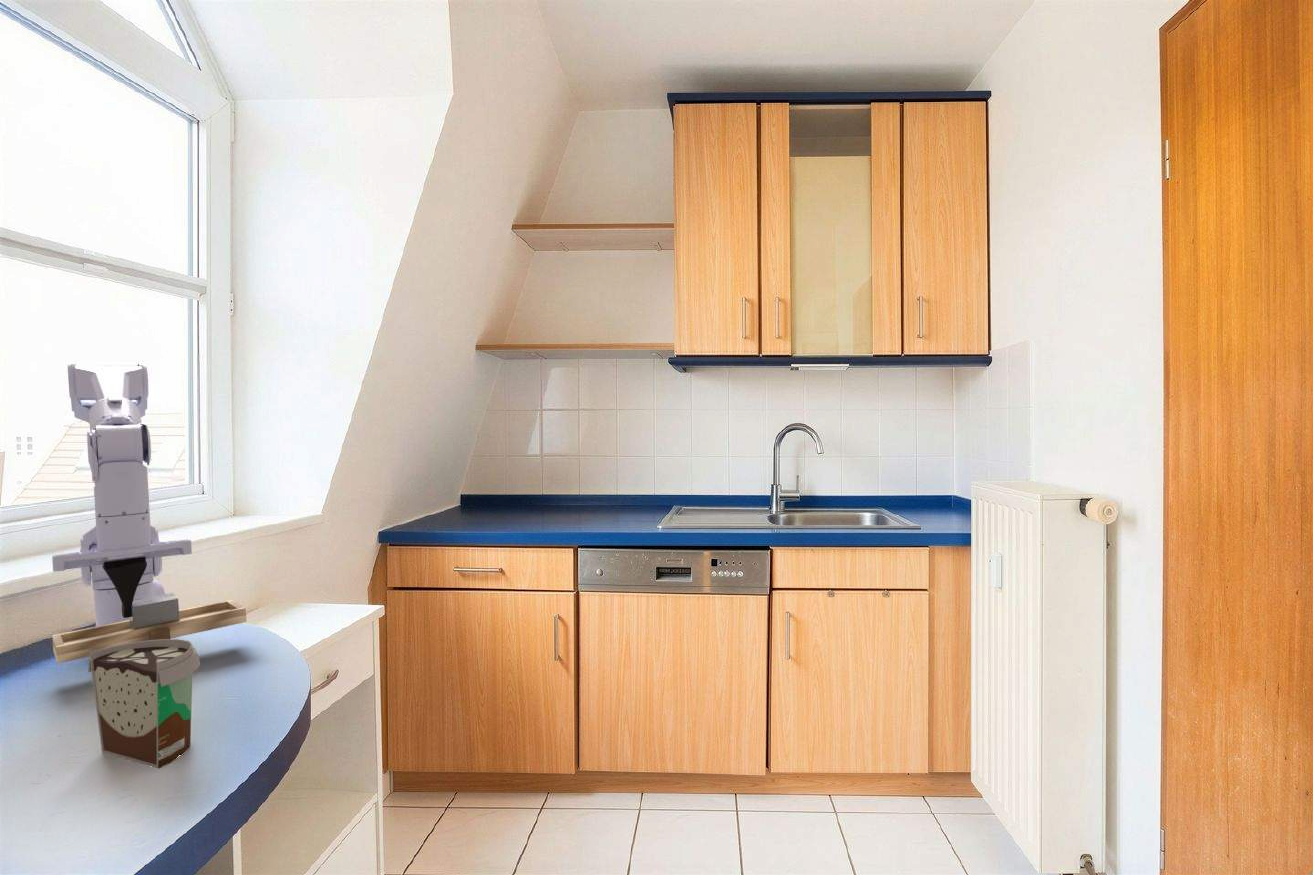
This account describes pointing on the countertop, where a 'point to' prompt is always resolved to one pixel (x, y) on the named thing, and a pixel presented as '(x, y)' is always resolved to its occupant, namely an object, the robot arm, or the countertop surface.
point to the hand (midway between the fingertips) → (128, 616)
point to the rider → (154, 611)
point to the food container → (144, 699)
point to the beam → (145, 630)
